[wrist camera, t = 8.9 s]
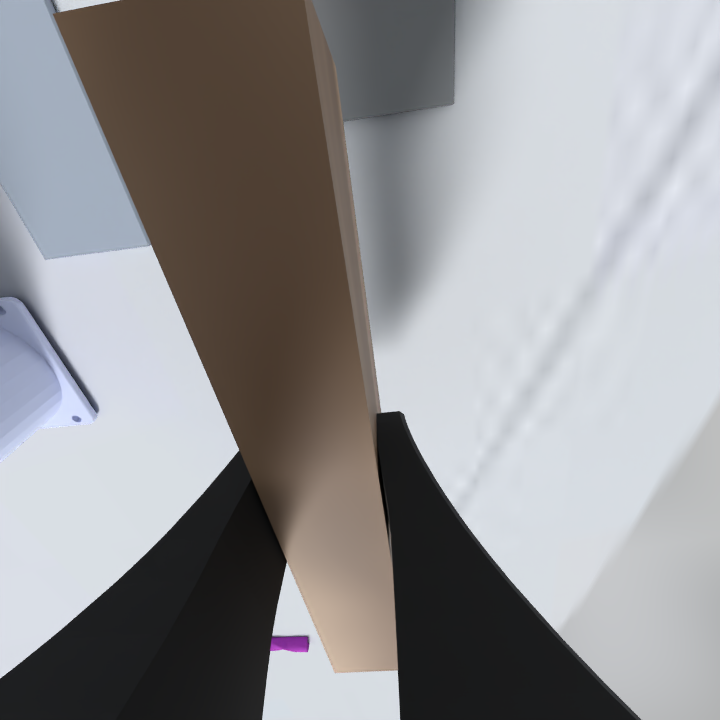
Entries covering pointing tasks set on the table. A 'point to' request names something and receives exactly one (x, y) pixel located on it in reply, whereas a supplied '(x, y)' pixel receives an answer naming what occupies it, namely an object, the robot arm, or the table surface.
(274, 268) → the wooden plank
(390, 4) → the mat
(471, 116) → the table surface
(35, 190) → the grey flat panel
